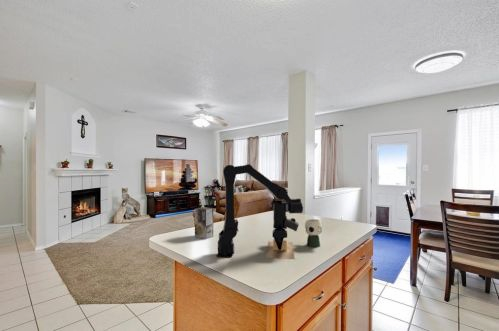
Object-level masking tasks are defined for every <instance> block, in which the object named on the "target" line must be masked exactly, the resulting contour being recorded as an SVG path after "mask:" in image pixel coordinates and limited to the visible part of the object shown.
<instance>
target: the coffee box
mask: <svg viewBox="0 0 499 331" xmlns="http://www.w3.org/2000/svg"><path fill="white" fill-rule="evenodd" d="M194 237H195V238H200V239H204V240H207V239H210V238H213V237H214V208H213V207H204V206H201V207H197V208H194Z"/></svg>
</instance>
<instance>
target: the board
mask: <svg viewBox="0 0 499 331" xmlns="http://www.w3.org/2000/svg"><path fill="white" fill-rule="evenodd" d="M265 259H279V260H280V259H282V260H296V258H295V252H294V246H293V242H288V241H287V251H279V250H273V241H268V243H267V247H266V252H265Z"/></svg>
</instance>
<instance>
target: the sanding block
mask: <svg viewBox="0 0 499 331" xmlns="http://www.w3.org/2000/svg"><path fill="white" fill-rule="evenodd" d="M272 242H273V250H279V249H278V247H277V244H276V242H275V239H274V238H273V240H272ZM287 242H288V240H287V239H286V238H284V239H283V243H282V247H281V250H279V251H287Z"/></svg>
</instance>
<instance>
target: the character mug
mask: <svg viewBox="0 0 499 331" xmlns="http://www.w3.org/2000/svg"><path fill="white" fill-rule="evenodd" d="M304 228H305V233H306V234H307V241H306V246H309V248H320V247H321V241H320V236H319V235H321V234H322V233H323V226H322V221H321V220H320V219H315V218H307V219H305V222H304Z"/></svg>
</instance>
